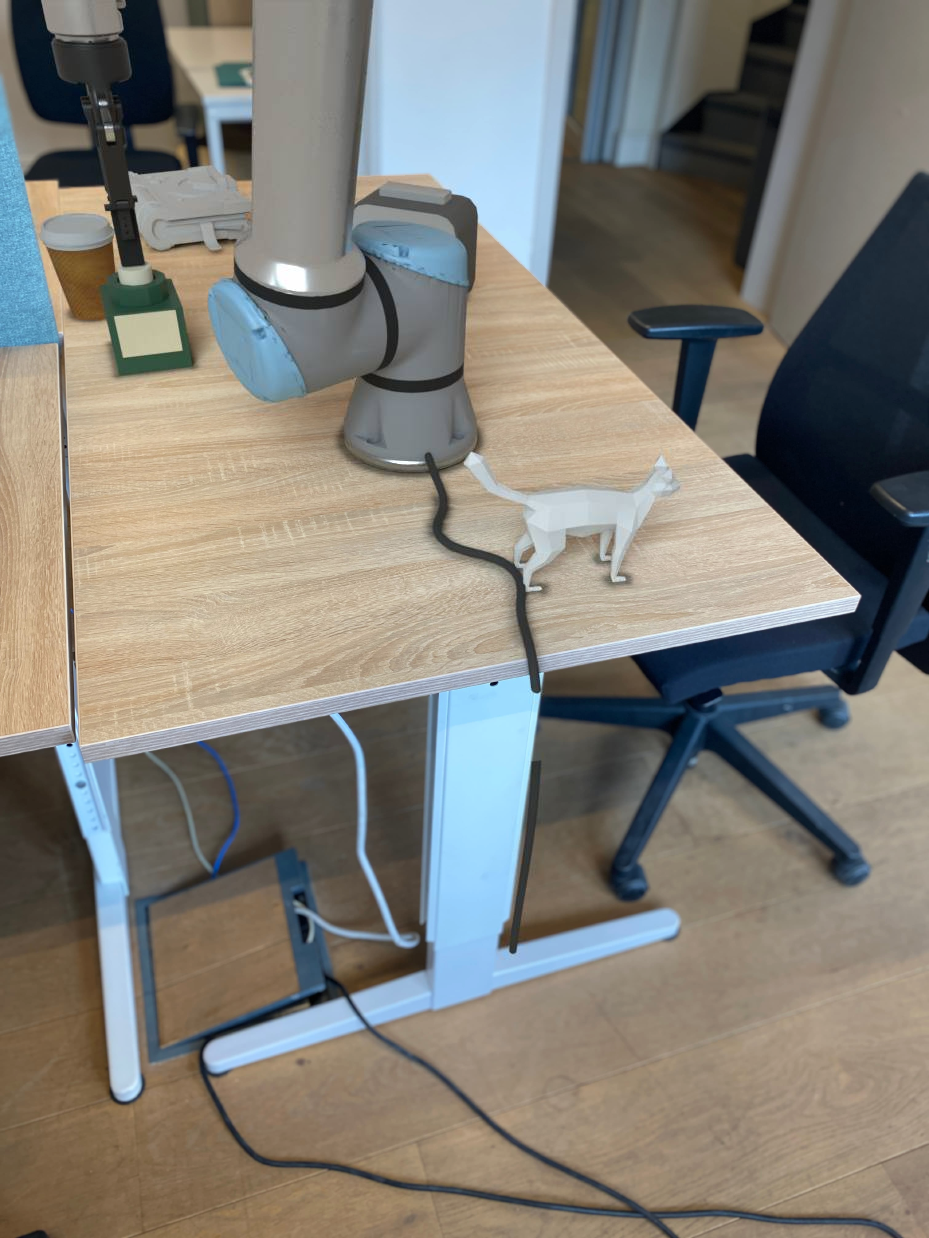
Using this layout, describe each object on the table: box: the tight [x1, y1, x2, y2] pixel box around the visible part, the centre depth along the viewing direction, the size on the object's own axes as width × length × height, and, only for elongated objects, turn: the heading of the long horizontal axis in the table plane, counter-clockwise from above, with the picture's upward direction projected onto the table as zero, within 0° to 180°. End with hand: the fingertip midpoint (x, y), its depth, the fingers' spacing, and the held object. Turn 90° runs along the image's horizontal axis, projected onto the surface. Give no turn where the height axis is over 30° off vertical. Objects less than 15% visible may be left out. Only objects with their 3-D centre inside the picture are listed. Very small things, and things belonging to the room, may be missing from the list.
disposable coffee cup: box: [38, 212, 116, 321], centre depth 123 cm, size 10×10×12 cm
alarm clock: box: [352, 180, 479, 294], centre depth 131 cm, size 16×11×16 cm
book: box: [128, 165, 252, 252], centre depth 153 cm, size 19×28×8 cm
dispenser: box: [99, 268, 193, 377], centre depth 114 cm, size 10×9×10 cm
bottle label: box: [114, 310, 183, 358], centre depth 111 cm, size 1×7×5 cm, turn 112°
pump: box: [116, 260, 154, 286], centre depth 111 cm, size 4×4×2 cm
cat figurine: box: [463, 451, 682, 593], centre depth 81 cm, size 4×20×14 cm, turn 102°
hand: (132, 263), depth 110 cm, fingers closed
